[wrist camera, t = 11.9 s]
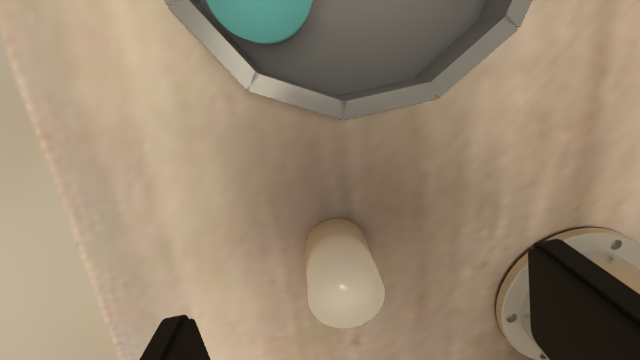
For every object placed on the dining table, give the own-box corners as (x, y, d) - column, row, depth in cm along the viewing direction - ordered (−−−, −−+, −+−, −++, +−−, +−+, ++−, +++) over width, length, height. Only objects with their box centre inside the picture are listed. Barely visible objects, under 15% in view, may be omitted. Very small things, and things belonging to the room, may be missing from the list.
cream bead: (378, 246, 27) (400, 297, 21) (333, 283, 28) (342, 340, 22) (338, 206, 26) (351, 249, 20) (292, 246, 27) (291, 297, 21)
